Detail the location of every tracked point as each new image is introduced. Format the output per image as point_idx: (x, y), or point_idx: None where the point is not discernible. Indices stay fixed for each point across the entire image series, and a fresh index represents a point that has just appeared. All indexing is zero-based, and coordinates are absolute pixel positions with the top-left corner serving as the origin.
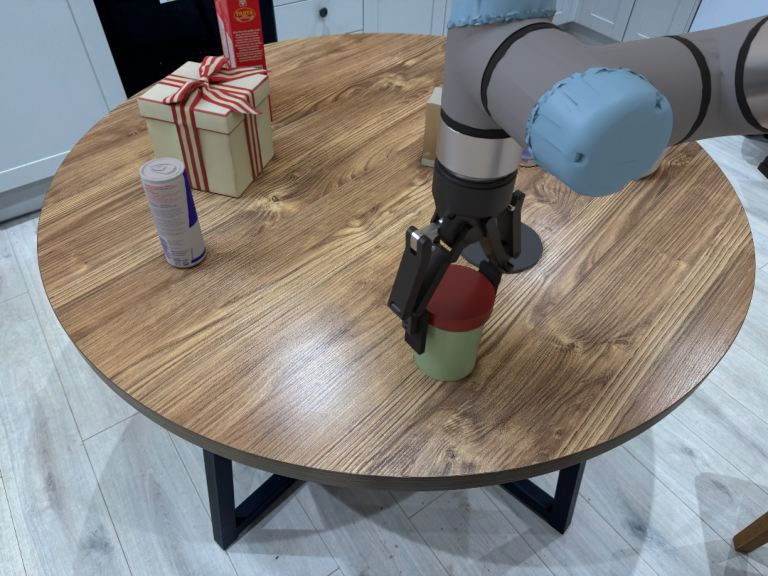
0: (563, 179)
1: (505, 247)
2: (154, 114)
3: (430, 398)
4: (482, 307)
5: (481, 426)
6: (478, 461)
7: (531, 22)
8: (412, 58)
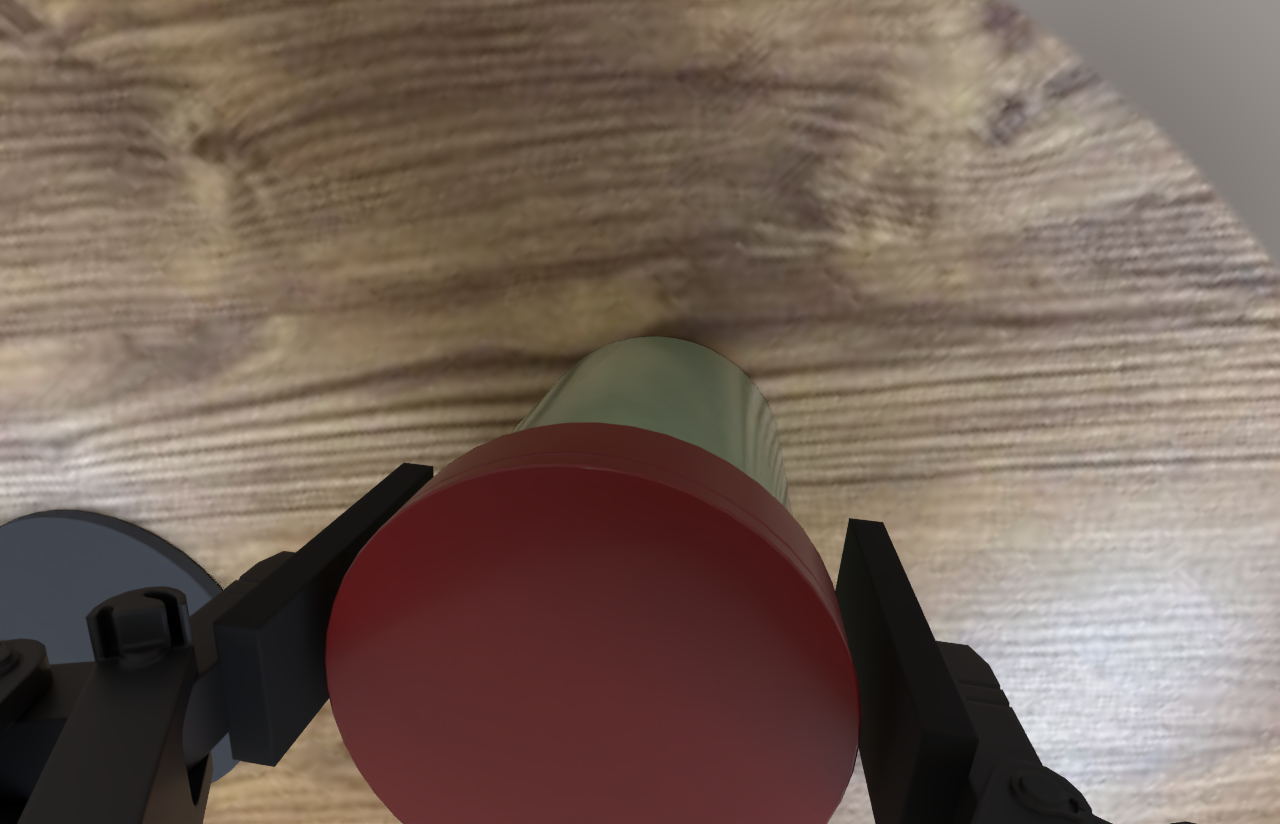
0: None
1: (20, 772)
2: None
3: (852, 359)
4: (546, 512)
5: (808, 126)
6: (958, 10)
7: None
8: None
